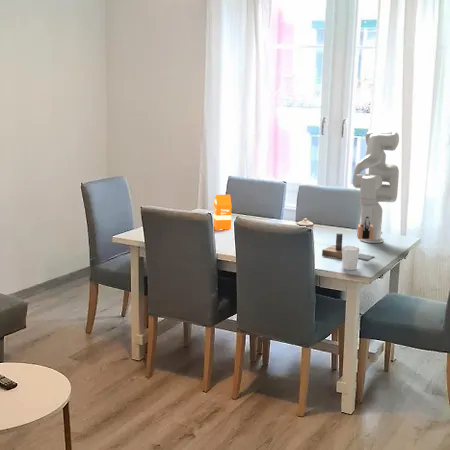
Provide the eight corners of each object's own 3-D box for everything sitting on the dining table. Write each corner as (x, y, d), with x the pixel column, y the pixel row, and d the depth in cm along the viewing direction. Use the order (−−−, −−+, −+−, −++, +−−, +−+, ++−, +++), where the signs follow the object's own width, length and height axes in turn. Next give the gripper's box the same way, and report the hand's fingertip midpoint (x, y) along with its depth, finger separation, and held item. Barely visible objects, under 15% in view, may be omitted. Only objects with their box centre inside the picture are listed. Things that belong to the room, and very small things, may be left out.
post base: (333, 250, 358) (334, 230, 356) (354, 254, 352) (355, 233, 349) (322, 255, 349) (323, 234, 346) (343, 259, 342) (345, 238, 340)
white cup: (339, 266, 331) (340, 245, 329) (355, 265, 332) (356, 245, 329) (343, 270, 323) (344, 250, 321) (359, 270, 324) (361, 249, 322)
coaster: (359, 254, 352) (359, 253, 352) (374, 257, 347) (374, 256, 347) (352, 257, 346) (352, 256, 346) (367, 260, 341) (367, 259, 341)
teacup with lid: (307, 242, 376) (308, 221, 373) (293, 239, 381) (294, 218, 378) (318, 238, 385) (319, 217, 383) (304, 235, 390) (305, 215, 388)
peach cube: (371, 236, 347) (372, 222, 346) (372, 239, 340) (373, 225, 339) (357, 235, 348) (358, 222, 346) (358, 239, 341) (359, 225, 339)
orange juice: (213, 227, 406) (213, 193, 402) (227, 226, 408) (228, 193, 404) (216, 230, 399) (216, 196, 394) (231, 229, 401) (232, 195, 397)
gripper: (358, 198, 349) (355, 232, 353) (361, 204, 332) (358, 240, 336) (373, 198, 348) (370, 233, 352) (377, 205, 331) (374, 241, 335)
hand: (364, 236), depth 344 cm, fingers closed on peach cube, 7 cm apart
